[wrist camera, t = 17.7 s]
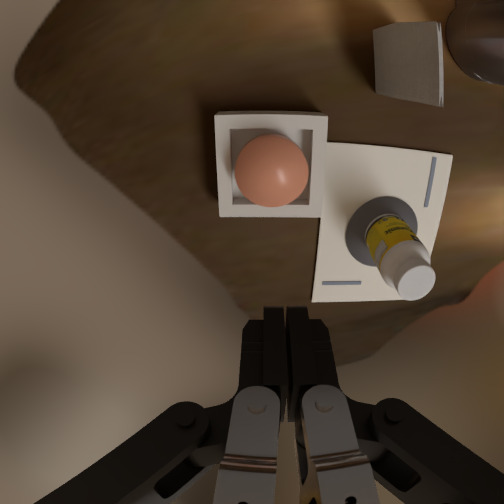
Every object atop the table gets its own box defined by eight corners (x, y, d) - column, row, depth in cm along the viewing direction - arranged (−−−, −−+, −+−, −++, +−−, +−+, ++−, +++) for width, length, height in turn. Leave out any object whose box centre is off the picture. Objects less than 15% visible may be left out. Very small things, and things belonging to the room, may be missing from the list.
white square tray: (218, 111, 29) (214, 115, 27) (322, 112, 29) (327, 116, 26) (223, 205, 34) (219, 216, 32) (316, 205, 34) (321, 217, 32)
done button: (235, 133, 28) (233, 137, 26) (307, 134, 28) (310, 138, 26) (237, 199, 31) (235, 207, 29) (304, 199, 31) (306, 207, 29)
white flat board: (325, 141, 30) (326, 142, 30) (451, 154, 30) (453, 156, 30) (311, 300, 41) (312, 303, 40) (416, 297, 40) (417, 299, 40)
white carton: (375, 93, 28) (419, 104, 19) (372, 29, 24) (416, 16, 15) (408, 95, 27) (459, 109, 19) (406, 34, 24) (457, 26, 15)
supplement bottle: (412, 217, 34) (451, 264, 25) (396, 256, 36) (426, 309, 28) (372, 207, 33) (404, 254, 25) (357, 249, 36) (381, 304, 28)
